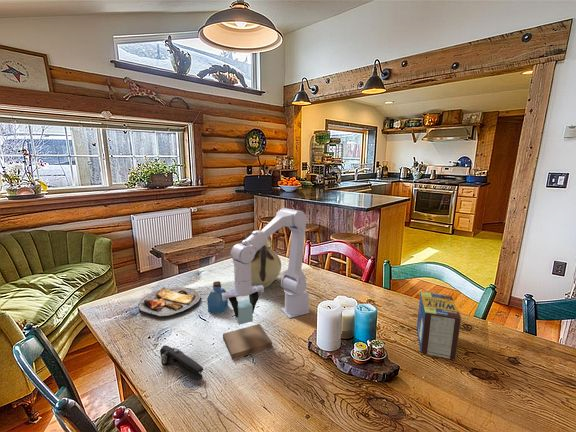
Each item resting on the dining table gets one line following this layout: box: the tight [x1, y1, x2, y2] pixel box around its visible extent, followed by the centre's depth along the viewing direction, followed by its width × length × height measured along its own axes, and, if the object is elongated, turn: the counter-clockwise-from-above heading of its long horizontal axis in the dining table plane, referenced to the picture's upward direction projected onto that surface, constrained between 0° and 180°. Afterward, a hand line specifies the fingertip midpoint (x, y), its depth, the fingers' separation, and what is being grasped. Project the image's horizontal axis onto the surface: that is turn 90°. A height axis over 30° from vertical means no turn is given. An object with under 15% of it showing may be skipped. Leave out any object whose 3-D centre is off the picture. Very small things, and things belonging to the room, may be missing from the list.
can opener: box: [159, 344, 204, 380], centre depth 88 cm, size 18×7×6 cm, turn 57°
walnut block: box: [222, 323, 273, 360], centre depth 100 cm, size 14×12×2 cm
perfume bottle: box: [206, 281, 229, 314], centre depth 121 cm, size 6×6×12 cm
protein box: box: [416, 291, 462, 361], centre depth 99 cm, size 10×15×16 cm
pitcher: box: [244, 232, 282, 289], centre depth 144 cm, size 22×24×25 cm
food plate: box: [137, 286, 201, 317], centre depth 127 cm, size 25×23×4 cm
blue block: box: [234, 299, 254, 325], centre depth 101 cm, size 5×5×6 cm
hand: (244, 314), depth 101 cm, fingers closed on blue block, 5 cm apart
